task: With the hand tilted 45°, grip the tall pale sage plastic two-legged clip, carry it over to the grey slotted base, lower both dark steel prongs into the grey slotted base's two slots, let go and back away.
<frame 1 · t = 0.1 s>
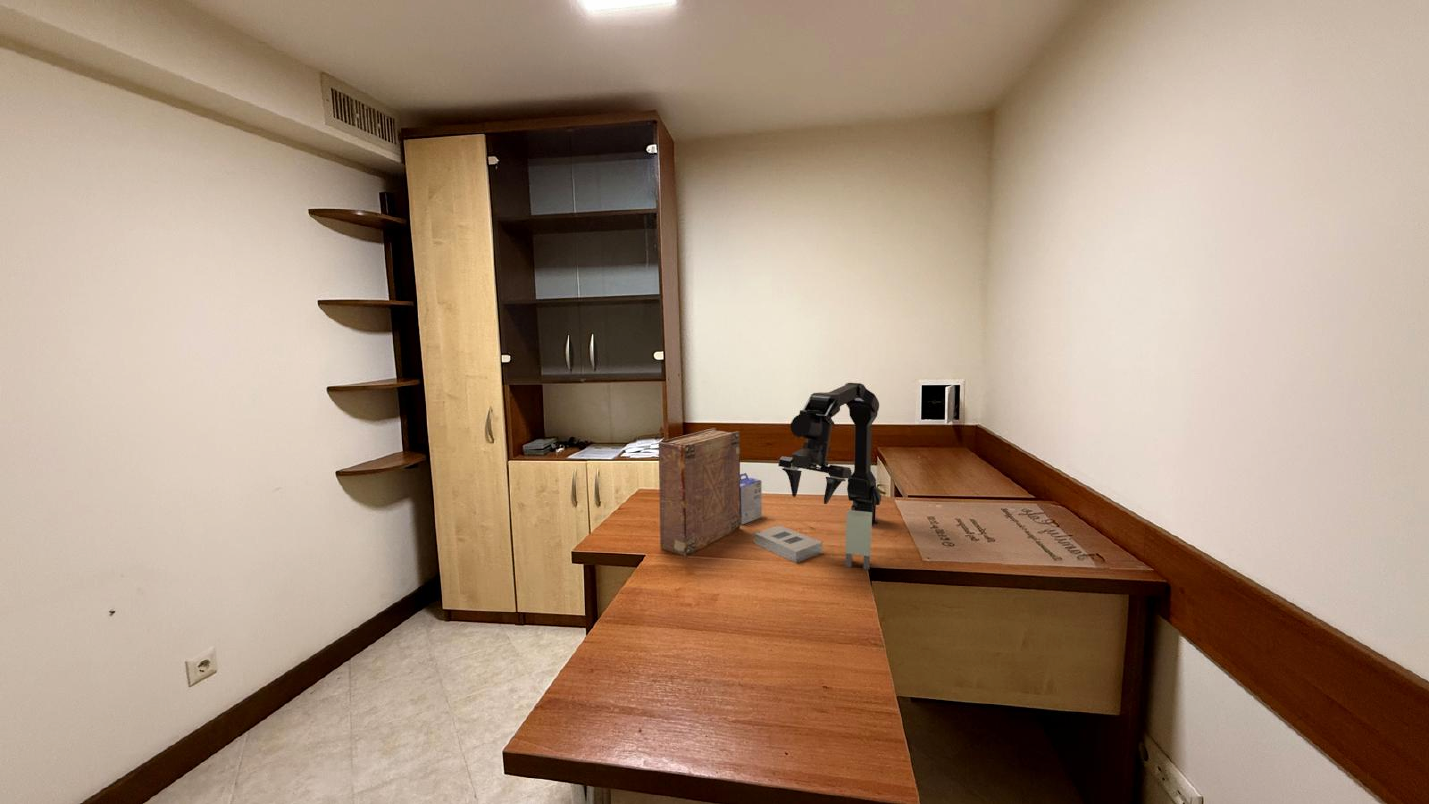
hand: (809, 500, 138), 15 cm above the table, tool pointing down, fingers open, 9 cm apart
ink cartridge box: (745, 519, 168), on the table
clip: (857, 564, 135), on the table
grey slotted base: (787, 548, 145), on the table
book: (702, 539, 152), on the table
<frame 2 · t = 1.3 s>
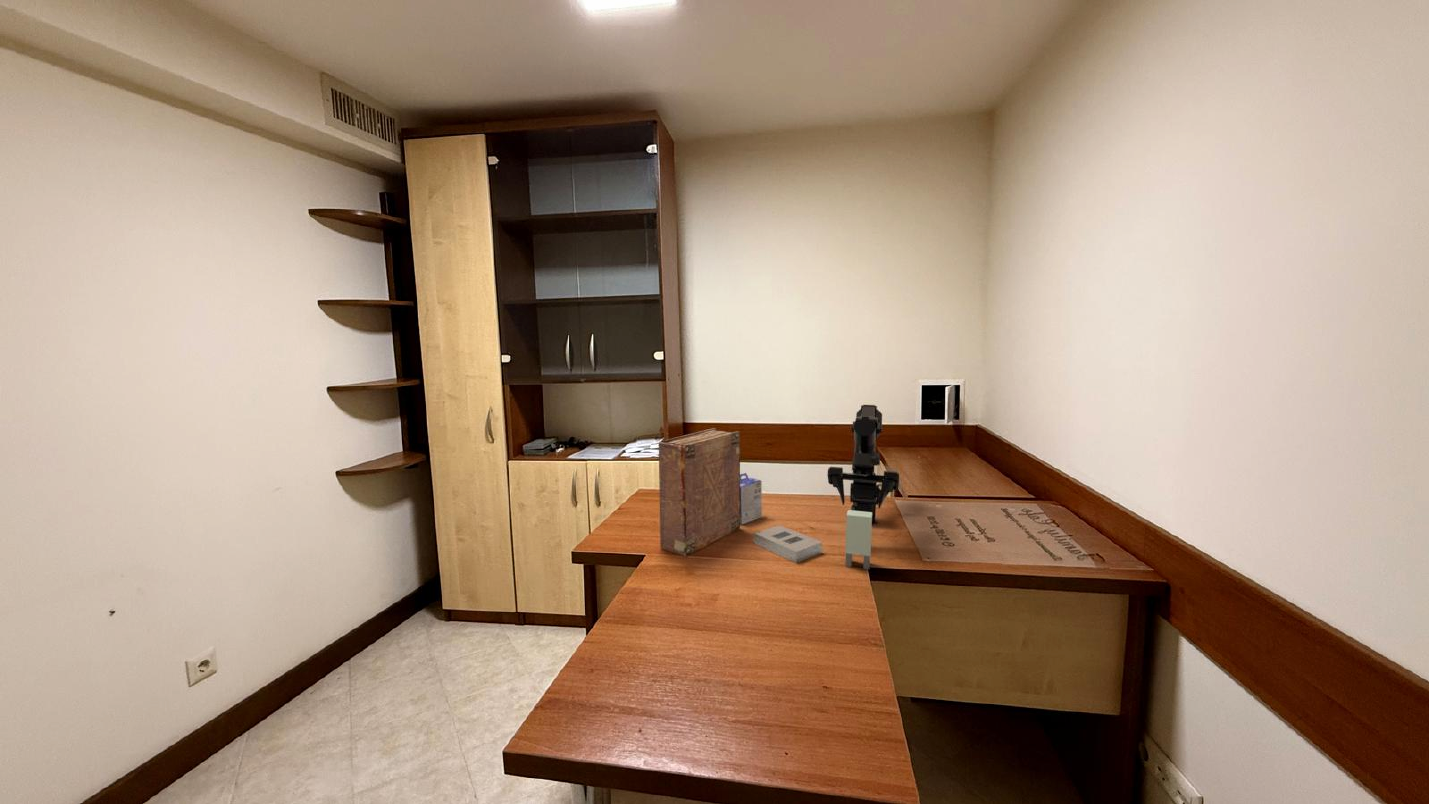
hand: (861, 506, 141), 13 cm above the table, tool tilted 45°, fingers open, 9 cm apart
nothing on the table moved.
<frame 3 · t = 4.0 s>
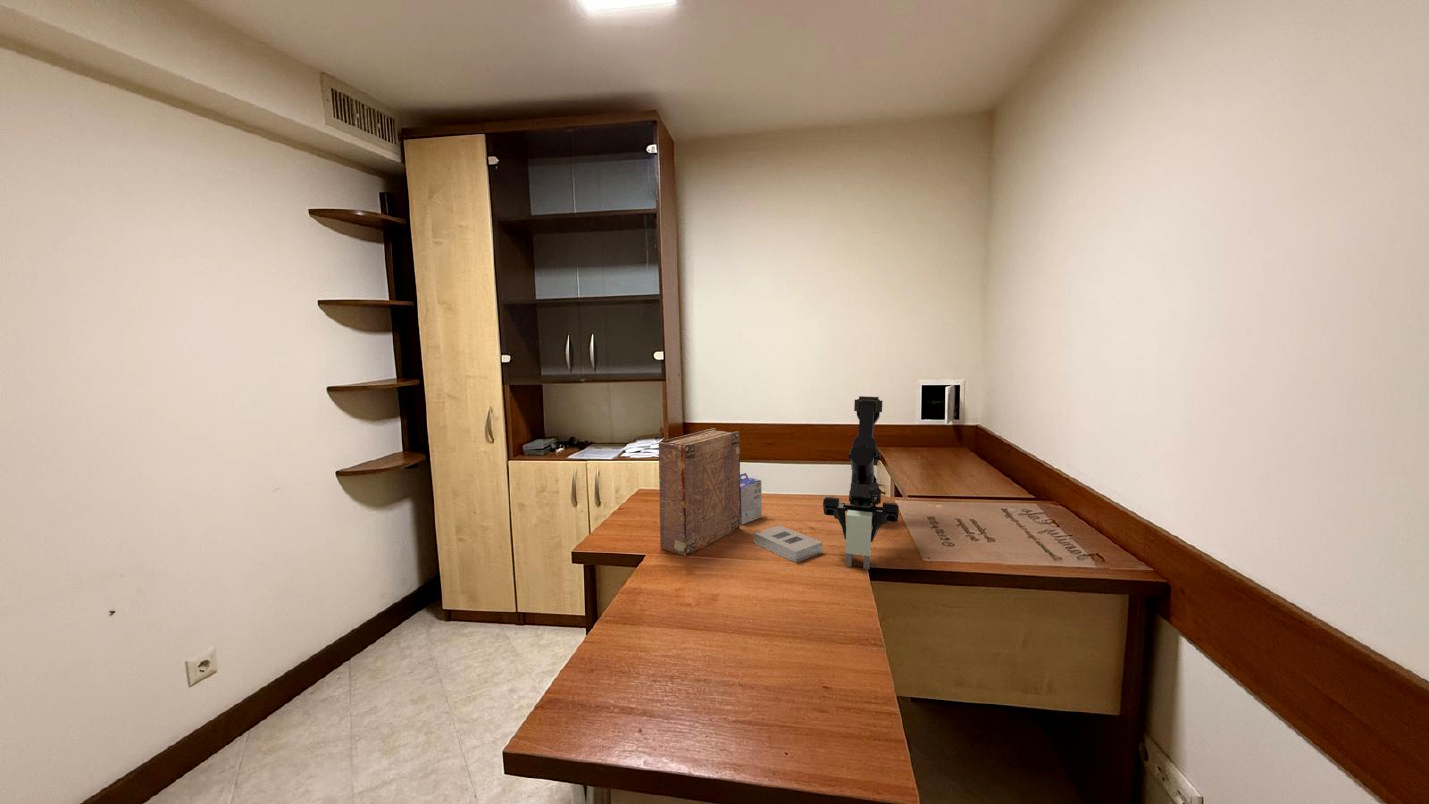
hand: (858, 540, 133), 7 cm above the table, tool tilted 45°, fingers closed on clip, 6 cm apart
clip: (857, 564, 135), on the table, touching gripper
everything else where it was.
when the fingers open (8 cm above the table, at t = 8.1 s): clip drops 1 cm, on the table.
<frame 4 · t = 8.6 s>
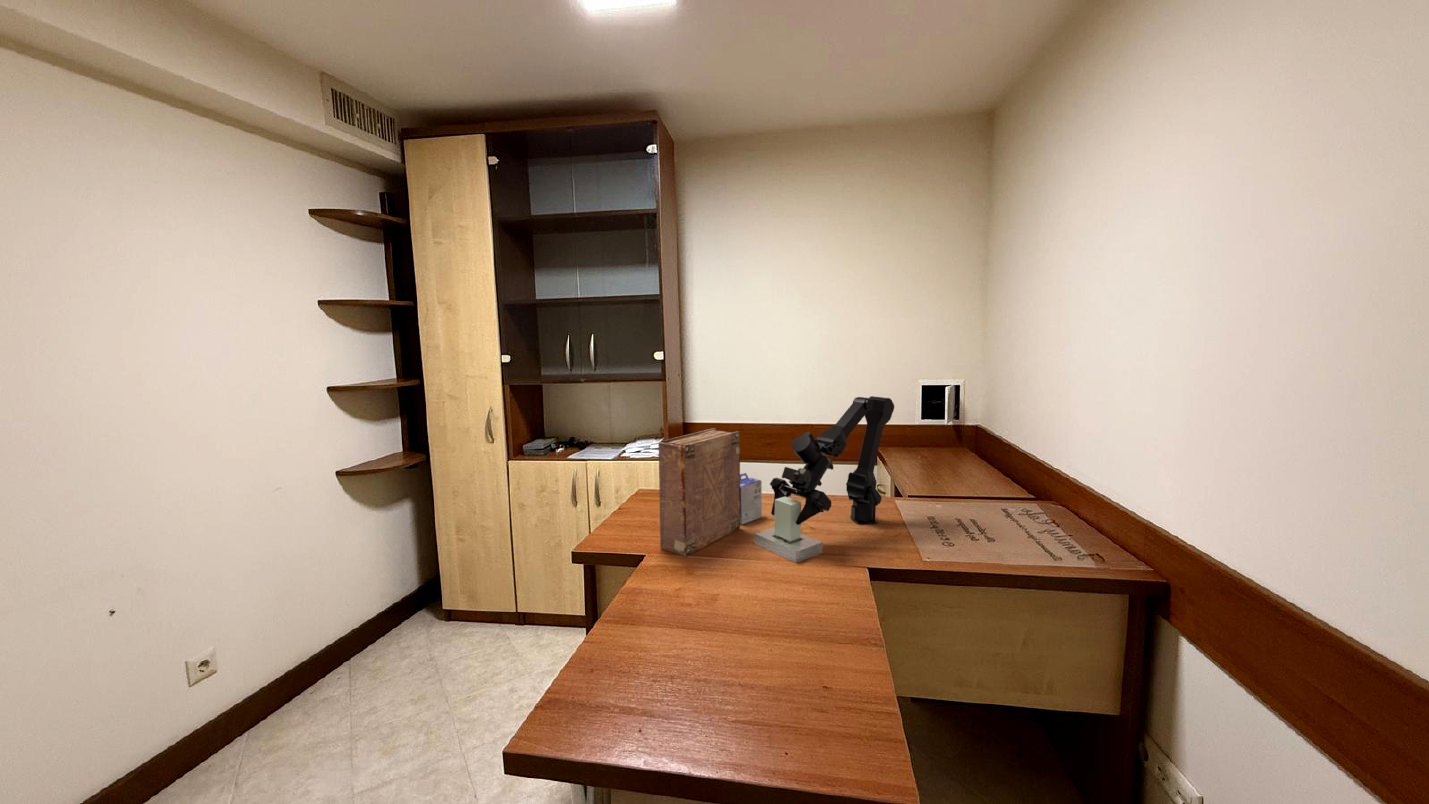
hand: (784, 519, 143), 9 cm above the table, tool tilted 45°, fingers open, 9 cm apart
clip: (787, 548, 145), on the table
everything else where it was.
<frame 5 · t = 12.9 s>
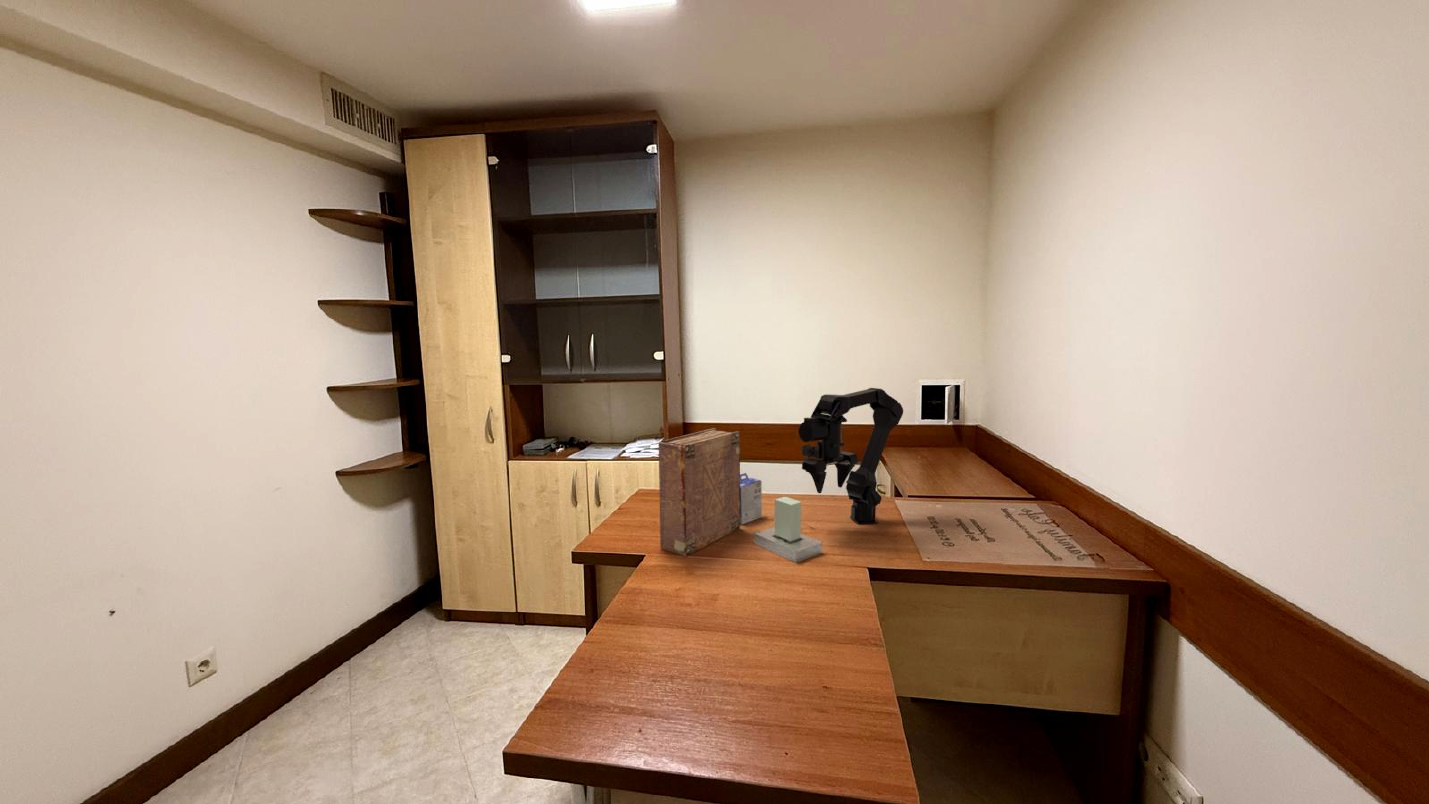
hand: (829, 490, 156), 12 cm above the table, tool pointing down, fingers open, 9 cm apart
nothing on the table moved.
at the end: clip 0.0 cm from the grey slotted base (horizontally); clip on the table; clip tilted 0° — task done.
